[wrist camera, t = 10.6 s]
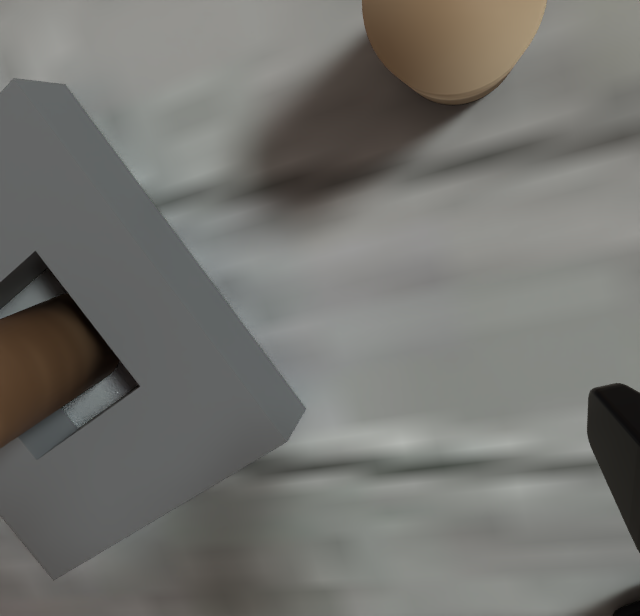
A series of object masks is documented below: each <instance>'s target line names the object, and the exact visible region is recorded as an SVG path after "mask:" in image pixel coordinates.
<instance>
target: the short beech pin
mask: <svg viewBox="0 0 640 616" xmlns="http://www.w3.org/2000/svg"><path fill="white" fill-rule="evenodd" d="M546 2H547V0H362V11H363V19H364V25H365V29H366V32H367V36H368V38H369V41H370V43H371V45H372V48H373V49H374V51H375V53H376V54H377V56H378V58H379V59H380V60H381V61H382V63H383V64H384V65H385V67H387V68H388V69H389V70H390V71H391V72H392V73H393V74H394V75H395V76H396V77H398V78H399V79H400V80H402V81H403V82H404V83H405V84H407V85H408V86H409V87H410V88H412V89H413V90H414V91H416V92H417V93H418V94H420V95H421V96H422V97H424V98H426V99H428V100H430V101H433V102H436V103H440V104H445V105H460V104H465V103H470V102H473V101H476V100H478V99H480V98H482V97H484V96H486V95H487V94H489V93H490V92H492V91H493V90H494V89H495V88H496V87H498V86H499V85H500V84H501V83H502V82H503V80H504V79H505V78H506V77H507V75H508V74H509V73H510V71H511V70H512V68H513V67H514V66H515V64H516V63H517V61H518V60H519V59H520V57H521V56H522V54H523V53H524V52H525V50H526V49H527V47H528V46H529V45H530V43H531V41H532V40H533V38H534V36H535V34H536V33H537V30H538V28H539V26H540V23H541V21H542V18H543V14H544V11H545V8H546Z"/></svg>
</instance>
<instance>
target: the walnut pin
mask: <svg viewBox="0 0 640 616" xmlns="http://www.w3.org/2000/svg"><path fill="white" fill-rule="evenodd" d="M118 362H119V358H118V357H117V356H116V354H115V353H114V352H113V350H112V349H111V348H110V347H109V345H108V344H107V343H106V341H105V340H104V339H103V337H102V336H101V335H100V334H99V332H98V331H97V330H96V328H95V327H94V326H93V325H92V323H91V322H90V321H89V319H88V318H87V317H86V315H85V314H84V313H83V312H82V310H81V309H80V308H79V306H78V305H77V304H76V302H75V301H74V300H73V299H72V297H71V296H70V295H69V294H63V295H60V296H57V297H54V298H52V299H49V300H47V301H44V302H42V303H39V304H37V305H34V306H32V307H29V308H27V309H24V310H22V311H19V312H17V313H14V314H12V315H10V316H7V317H5V318H2V319H0V448H2V447H3V446H5V445H6V444H8V443H9V442H11V441H12V440H14V439H15V438H17V437H18V436H20V435H21V434H23V433H24V432H26V431H27V430H29V429H30V428H32V427H33V426H34V425H36V424H37V423H39V422H40V421H42V420H43V419H45V418H46V417H48V416H49V415H51V414H52V413H54V412H55V411H57V410H58V409H60V408H61V407H63V406H64V405H66V404H67V403H69V402H70V401H71V400H73V399H74V398H76V397H77V396H79V395H80V394H82V393H83V392H85V391H86V390H88V389H89V388H91V387H92V386H94V385H95V384H97V383H98V382H100V381H101V380H103V379H104V378H106V377H107V376H108V375H110V374H111V373H112V372H113V371H114V369H115V368H116V366H117V365H118Z"/></svg>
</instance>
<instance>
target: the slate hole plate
mask: <svg viewBox="0 0 640 616" xmlns="http://www.w3.org/2000/svg"><path fill="white" fill-rule="evenodd" d="M47 267H49V269H50V270H51V271H52V273H53V274H54V275H55V277H56V278H57V279H58V280H59V282H60V283H61V284H62V286H63V287H64V288H65V289H66V291H67V292H68V293H69V295H70V296H71V297H72V299H73V300H74V301H75V302H76V304H77V305H78V306H79V308H80V309H81V310H82V312H83V313H84V314H85V315H86V317H87V318H88V319H89V321H90V322H91V323H92V325H93V326H94V327H95V328H96V330H97V331H98V332H99V334H100V335H101V336H102V337H103V339H104V340H105V341H106V343H107V344H108V345H109V347H110V348H111V349H112V350H113V352H114V353H115V354H116V356H117V357H118V358H119V360H120V361H121V362H122V363H123V365H124V366H125V367H126V369H127V370H128V371H129V372H130V374H131V375H132V376H133V378H134V379H135V380H136V382H137V383H138V384H139V386H137V387H136V388H135V389H133V390H132V391H130V392H129V393H128V394H126V395H125V396H123V397H122V398H121V399H119V400H118V401H116V402H115V403H114V404H112V405H111V406H109V407H108V408H107V409H105V410H104V411H102V412H101V413H100V414H98V415H97V416H95V417H94V418H93V419H91V420H90V421H88V422H87V423H86V424H84V425H83V426H81V427H80V428H79V429H77V428H76V426H75V425H74V424H73V422H72V421H71V420H70V419H69V417H68V416H67V415H66V414H65V412H64V411H63V410H62V409H61V408H60V409H58V410H57V411H55V412H54V413H52V414H51V415H49V416H48V417H46V418H45V419H43V420H42V421H40V422H39V423H37V424H36V425H34V426H33V427H32V428H30V429H29V430H27V431H26V432H24V433H23V434H21V435H20V436H18V437H17V438H15V439H14V440H12V441H11V442H9V443H8V444H6V445H5V446H3V447H2V448H0V516H1V517H2V518H3V519H4V520H5V522H6V523H7V524H8V525H9V527H10V528H11V529H12V530H13V531H14V533H15V534H16V535H17V536H18V538H19V539H20V540H21V541H22V542H23V544H24V545H25V546H26V547H27V549H28V550H29V551H30V552H31V553H32V555H33V556H34V557H35V558H36V560H37V561H38V562H39V563H40V564H41V566H42V567H43V568H44V569H45V571H46V572H47V573H48V574H49V575H50V577H51V578H52V579H53V580H55V579H57V578H59V577H60V576H62V575H64V574H65V573H67V572H69V571H70V570H72V569H74V568H75V567H77V566H79V565H81V564H82V563H84V562H86V561H87V560H89V559H91V558H92V557H94V556H96V555H97V554H99V553H101V552H102V551H104V550H106V549H107V548H109V547H111V546H113V545H114V544H116V543H118V542H119V541H121V540H123V539H124V538H126V537H128V536H129V535H131V534H133V533H134V532H136V531H138V530H139V529H141V528H143V527H145V526H146V525H148V524H150V523H151V522H153V521H155V520H156V519H158V518H160V517H161V516H163V515H165V514H166V513H168V512H170V511H171V510H173V509H175V508H176V507H178V506H180V505H182V504H183V503H185V502H187V501H188V500H190V499H192V498H193V497H195V496H197V495H198V494H200V493H202V492H203V491H205V490H207V489H208V488H210V487H212V486H214V485H215V484H217V483H219V482H220V481H222V480H224V479H225V478H227V477H229V476H230V475H232V474H234V473H235V472H237V471H239V470H240V469H242V468H244V467H246V466H247V465H249V464H251V463H252V462H254V461H256V460H257V459H259V458H261V457H262V456H264V455H266V454H267V453H269V452H271V451H272V450H274V449H276V448H278V447H279V446H281V445H283V444H284V443H286V442H287V441H288V439H289V437H290V436H291V434H292V432H293V431H294V429H295V427H296V425H297V424H298V422H299V420H300V419H301V417H302V415H303V413H304V412H305V410H306V408H305V407H304V406H303V404H302V403H301V401H300V400H299V399H298V397H297V396H296V395H295V393H294V392H293V391H292V389H291V388H290V387H289V385H288V384H287V383H286V381H285V380H284V379H283V377H282V376H281V375H280V373H279V372H278V371H277V369H276V368H275V366H274V365H273V364H272V362H271V361H270V360H269V358H268V357H267V356H266V354H265V353H264V352H263V350H262V349H261V348H260V346H259V345H258V344H257V342H256V341H255V340H254V338H253V337H252V336H251V334H250V333H249V331H248V330H247V329H246V327H245V326H244V325H243V323H242V322H241V321H240V319H239V318H238V317H237V315H236V314H235V313H234V311H233V310H232V309H231V307H230V306H229V305H228V303H227V302H226V301H225V299H224V298H223V296H222V295H221V294H220V292H219V291H218V290H217V288H216V287H215V286H214V284H213V283H212V282H211V280H210V279H209V278H208V276H207V275H206V274H205V272H204V271H203V270H202V268H201V267H200V266H199V264H198V263H197V261H196V260H195V259H194V257H193V256H192V255H191V253H190V252H189V251H188V249H187V248H186V247H185V245H184V244H183V243H182V241H181V240H180V239H179V237H178V236H177V235H176V233H175V232H174V231H173V229H172V228H171V226H170V225H169V224H168V222H167V221H166V220H165V218H164V217H163V216H162V214H161V213H160V212H159V210H158V209H157V208H156V206H155V205H154V204H153V202H152V201H151V200H150V198H149V197H148V196H147V194H146V193H145V191H144V190H143V189H142V187H141V186H140V185H139V183H138V182H137V181H136V179H135V178H134V177H133V175H132V174H131V173H130V171H129V170H128V169H127V167H126V166H125V165H124V163H123V162H122V161H121V159H120V158H119V156H118V155H117V154H116V152H115V151H114V150H113V148H112V147H111V146H110V144H109V143H108V142H107V140H106V139H105V138H104V136H103V135H102V134H101V132H100V131H99V130H98V128H97V127H96V126H95V124H94V123H93V121H92V120H91V119H90V117H89V116H88V115H87V113H86V112H85V111H84V109H83V108H82V107H81V105H80V104H79V103H78V101H77V100H76V99H75V97H74V96H73V95H72V93H71V92H70V91H69V89H68V88H67V86H66V85H65V84H58V83H49V82H41V81H32V80H24V79H15V78H14V79H13V80H12V81H11V82H10V83H9V84H8V85H7V86H6V87H5V88H4V89H3V90H2V91H1V93H0V309H1V308H2V307H3V306H4V305H5V304H6V303H8V302H9V301H10V300H11V299H12V298H13V297H14V296H16V295H17V294H18V293H19V292H20V291H21V290H22V289H23V288H25V287H26V286H27V285H28V284H29V283H30V282H31V281H33V280H34V279H35V278H36V277H37V276H38V275H39V274H41V273H42V272H43V271H44V270H45V269H46V268H47Z"/></svg>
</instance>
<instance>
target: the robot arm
mask: <svg viewBox="0 0 640 616" xmlns="http://www.w3.org/2000/svg"><path fill="white" fill-rule="evenodd" d="M587 434H588V439H589V443H590V446H591V448H592V450H593V453H594V455H595V457H596V459H597V462H598V464H599V466H600V468H601V470H602V473H603V475H604V477H605V479H606V482H607V484H608V486H609V488H610V490H611V493H612V495H613V497H614V499H615V502H616V504H617V506H618V508H619V510H620V513H621V515H622V517H623V519H624V522H625V524H626V526H627V528H628V530H629V533H630V535H631V537H632V539H633V541H634V543H635V545H636V547H637V549H638V551H639V553H640V393H639V392H638V391H636V390H634V389H632V388H630V387H629V386H627V385H624V384H621V383H615V384H610V385H605V386H601V387H596V388H593V389H592V390H591V391H590V393H589V397H588V418H587ZM613 616H640V601H637V602H635V603H632V604H629V605H627V606H624V607H621V608H619V609H618V610H616V611H615V612H614V614H613Z"/></svg>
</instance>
